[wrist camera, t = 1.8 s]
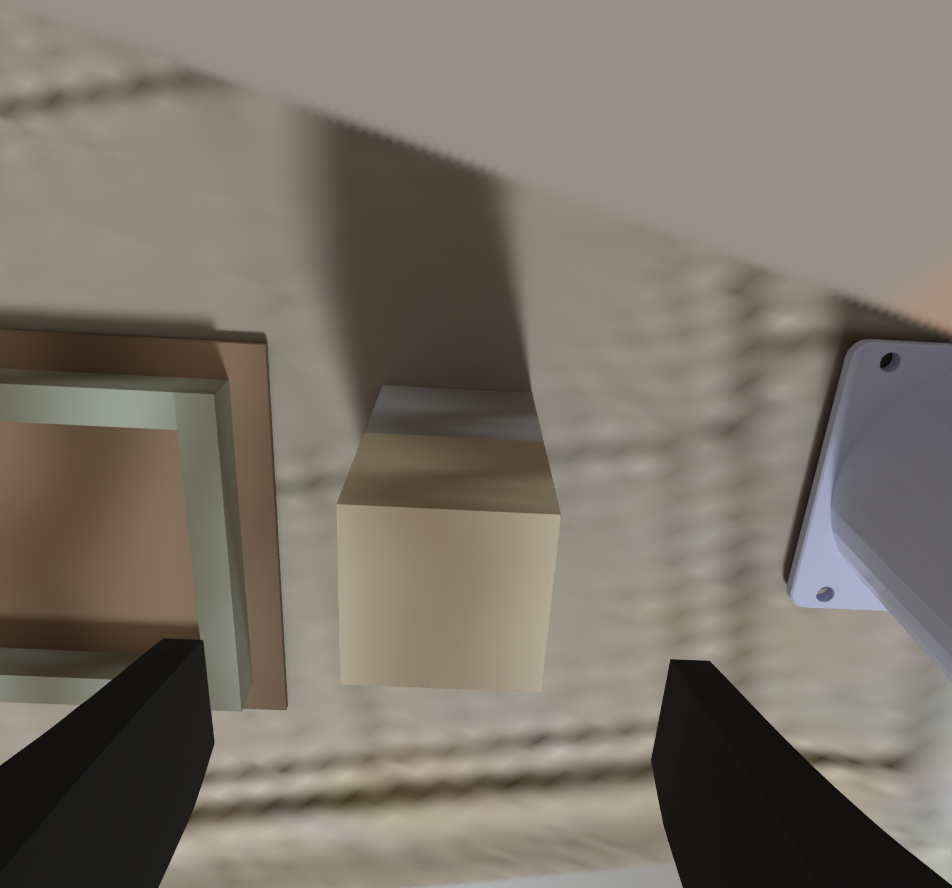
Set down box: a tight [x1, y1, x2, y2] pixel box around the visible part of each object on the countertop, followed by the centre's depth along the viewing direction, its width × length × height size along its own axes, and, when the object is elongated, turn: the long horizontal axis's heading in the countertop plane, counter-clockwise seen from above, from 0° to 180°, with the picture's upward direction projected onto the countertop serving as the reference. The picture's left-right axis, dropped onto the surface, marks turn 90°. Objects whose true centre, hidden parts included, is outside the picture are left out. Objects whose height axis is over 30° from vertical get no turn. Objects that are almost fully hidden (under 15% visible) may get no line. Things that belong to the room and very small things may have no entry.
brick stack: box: [337, 385, 561, 692], centre depth 17 cm, size 4×4×7 cm
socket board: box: [0, 329, 288, 712], centre depth 20 cm, size 12×12×1 cm
